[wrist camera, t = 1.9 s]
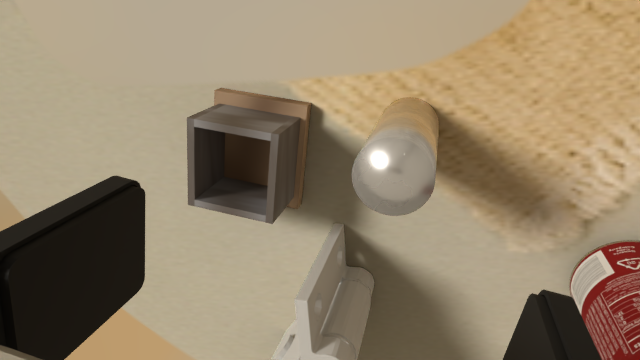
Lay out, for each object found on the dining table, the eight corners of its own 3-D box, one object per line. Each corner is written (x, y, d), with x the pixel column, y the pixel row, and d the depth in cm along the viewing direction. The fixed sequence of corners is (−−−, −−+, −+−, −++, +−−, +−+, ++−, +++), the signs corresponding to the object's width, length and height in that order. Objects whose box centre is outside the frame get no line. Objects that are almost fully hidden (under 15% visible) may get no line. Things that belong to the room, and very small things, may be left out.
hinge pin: (444, 102, 29) (443, 146, 20) (432, 159, 31) (425, 223, 22) (384, 93, 30) (357, 131, 21) (375, 148, 32) (346, 206, 23)
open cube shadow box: (311, 103, 32) (286, 121, 27) (301, 203, 35) (277, 236, 30) (220, 88, 33) (181, 102, 28) (219, 186, 36) (183, 215, 31)
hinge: (334, 219, 35) (296, 295, 26) (398, 249, 34) (382, 337, 25) (279, 340, 41) (231, 438, 32) (333, 367, 40) (300, 474, 31)
